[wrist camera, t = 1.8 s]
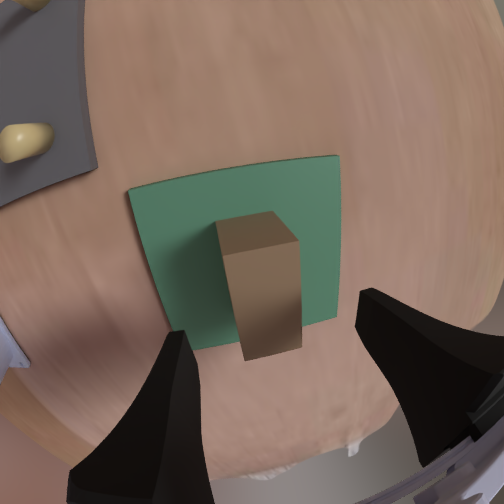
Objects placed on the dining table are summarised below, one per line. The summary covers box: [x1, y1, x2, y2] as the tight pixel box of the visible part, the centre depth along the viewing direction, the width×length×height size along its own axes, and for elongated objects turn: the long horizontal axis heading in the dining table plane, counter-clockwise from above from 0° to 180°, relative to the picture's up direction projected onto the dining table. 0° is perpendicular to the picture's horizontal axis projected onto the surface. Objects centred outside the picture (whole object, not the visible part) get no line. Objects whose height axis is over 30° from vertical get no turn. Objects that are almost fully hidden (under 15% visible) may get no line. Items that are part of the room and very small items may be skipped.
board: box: [128, 155, 341, 361], centre depth 14 cm, size 11×11×5 cm
